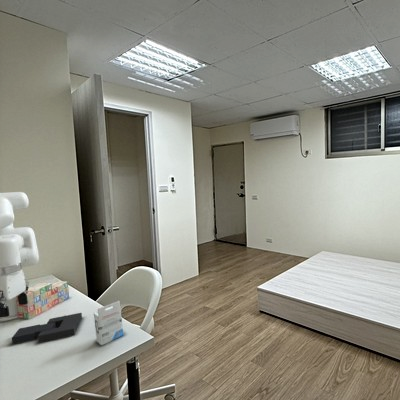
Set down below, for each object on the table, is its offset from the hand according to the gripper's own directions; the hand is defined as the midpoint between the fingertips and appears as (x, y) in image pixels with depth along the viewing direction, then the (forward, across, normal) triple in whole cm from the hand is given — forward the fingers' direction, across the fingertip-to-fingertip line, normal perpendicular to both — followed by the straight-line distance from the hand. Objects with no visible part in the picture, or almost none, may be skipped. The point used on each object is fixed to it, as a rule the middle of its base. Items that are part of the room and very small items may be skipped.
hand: (14, 310), depth 106 cm
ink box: (+12, +6, +38) cm, 40 cm away
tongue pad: (+12, -1, +6) cm, 14 cm away
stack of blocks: (+12, -27, -6) cm, 31 cm away
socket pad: (+12, -4, +14) cm, 19 cm away
